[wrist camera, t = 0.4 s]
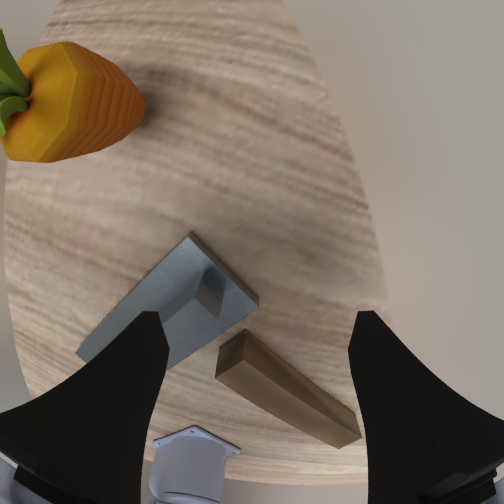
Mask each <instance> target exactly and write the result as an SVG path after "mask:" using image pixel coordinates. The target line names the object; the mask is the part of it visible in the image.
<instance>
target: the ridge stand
mask: <svg viewBox="0 0 504 504" xmlns="http://www.w3.org/2000/svg"><path fill="white" fill-rule="evenodd" d="M258 307H259V298H258V297H257V296H256V295H255V294H254V293H253V292H252V291H251V290H250V289H249V288H248V287H247V286H246V285H245V284H244V283H243V282H242V281H241V280H240V279H239V278H238V277H237V276H236V275H235V274H234V273H233V272H232V271H231V270H230V269H229V268H228V267H227V266H226V265H225V264H224V263H223V262H222V261H221V260H220V259H219V258H218V257H217V256H216V255H215V254H214V253H213V252H212V251H211V250H210V249H209V248H208V247H207V246H206V245H205V244H204V243H203V242H202V241H201V240H200V239H199V238H198V237H197V236H196V235H195V234H194V233H193V232H192V231H191V232H190V233H189V234H188V235H187V236H186V237H185V238H184V239H183V240H182V241H181V242H180V243H179V244H178V245H176V246H175V247H174V248H173V249H172V250H171V251H170V252H169V253H168V254H167V255H166V256H165V257H164V258H163V259H162V260H161V261H160V262H159V263H158V264H157V265H156V266H155V267H154V268H153V269H152V270H151V271H150V272H149V273H148V274H147V275H146V276H145V277H144V278H143V279H142V280H141V281H140V282H139V283H138V284H137V285H136V286H135V287H134V288H133V289H132V290H131V291H130V292H129V293H128V295H127V296H126V297H125V298H124V299H123V300H122V301H121V302H120V303H119V304H118V305H117V306H116V307H115V308H114V309H113V310H112V311H111V312H110V314H109V315H108V316H107V317H106V318H105V319H104V320H103V321H102V322H101V323H100V324H99V325H98V327H97V328H96V329H95V330H94V331H93V332H92V333H91V334H90V335H89V336H88V338H87V339H86V340H85V341H84V342H83V343H82V344H81V345H80V347H79V348H78V350H77V351H76V352H75V354H77V355H78V356H79V357H80V358H81V359H82V360H83V361H85V362H86V363H88V362H89V361H90V360H92V359H93V358H94V357H95V356H96V355H97V354H98V353H99V352H101V351H102V350H103V349H104V348H105V347H106V346H107V345H108V344H109V343H110V342H111V341H112V340H113V339H114V338H115V337H117V336H118V335H119V334H120V333H121V332H122V331H123V330H124V329H125V328H126V327H127V326H128V325H129V324H130V323H131V322H132V321H133V320H134V319H135V318H136V317H137V316H138V315H139V314H140V313H141V312H143V311H155V312H158V314H159V317H160V320H161V323H162V326H163V329H164V332H165V336H166V339H167V341H168V344H169V347H170V352H169V357H168V363H167V368H166V371H167V370H168V369H170V368H171V367H173V366H175V365H176V364H178V363H179V362H181V361H182V360H184V359H185V358H187V357H188V356H190V355H191V354H193V353H194V352H195V351H197V350H198V349H200V348H201V347H203V346H204V345H206V344H207V343H209V342H210V341H212V340H213V339H214V338H216V337H217V336H219V335H220V334H222V333H223V332H225V331H226V330H227V329H229V328H230V327H232V326H233V325H234V324H236V323H237V322H239V321H240V320H241V319H243V318H244V317H246V316H247V315H248V314H250V313H251V312H253V311H254V310H255V309H257V308H258Z"/></svg>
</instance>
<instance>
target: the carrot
mask: <svg viewBox="0 0 504 504" xmlns="http://www.w3.org/2000/svg"><path fill="white" fill-rule="evenodd" d="M145 108H146V103H145V100H144V98H143V97H142V95H141V94H140V92H139V91H138V90H137V88H136V87H135V85H134V84H133V83H132V82H131V80H130V79H129V78H128V77H127V76H126V75H125V74H124V73H123V72H122V71H121V70H120V69H119V68H118V67H117V66H116V65H115V64H113V63H112V62H110V61H108V60H107V59H105V58H103V57H102V56H100V55H98V54H96V53H94V52H92V51H90V50H88V49H86V48H84V47H82V46H80V45H78V44H76V43H72V42H58V43H54V44H49V45H45V46H41V47H37V48H33V49H29V50H28V51H27V52H25V53H24V54H23V56H22V57H21V58H20V59H19V60H18V62H17V63H16V61H15V60H14V58H13V56H12V55H11V53H10V51H9V50H8V48H7V45H6V42H5V38H4V35H3V32H2V29H0V141H1V144H2V146H3V148H4V150H5V152H6V154H7V156H8V158H9V160H14V161H27V162H40V163H52V162H56V161H60V160H64V159H69V158H73V157H77V156H81V155H85V154H89V153H93V152H97V151H100V150H102V149H104V148H106V147H108V146H111V145H113V144H115V143H116V142H118V141H120V140H122V139H123V138H125V137H126V136H127V135H128V134H129V133H130V132H131V131H133V130H134V129H135V128H136V127H137V126H138V125H140V124H141V123H142V122H143V118H144V113H145Z"/></svg>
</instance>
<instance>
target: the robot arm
mask: <svg viewBox="0 0 504 504" xmlns="http://www.w3.org/2000/svg"><path fill="white" fill-rule="evenodd" d="M169 352H170V347H169V344H168V341H167V339H166V336H165V332H164V329H163V326H162V323H161V320H160V317H159V314H158V312H155V311H143V312H141V313H140V314H139V315H138V316H137V317H136V318H135V319H134V320H133V321H132V322H131V323H130V324H129V325H128V326H127V327H126V328H125V329H124V330H123V331H122V332H121V333H120V334H119V335H118V336H117V337H115V338H114V339H113V340H112V341H111V342H110V343H109V344H108V345H107V346H106V347H105V348H104V349H103V350H102V351H101V352H99V353H98V354H97V355H96V356H95V357H94V358H93V359H92V360H90V361H89V362H88V363H87V364H86V365H85V366H83V367H82V368H81V369H80V370H78V371H77V372H76V373H74V374H73V375H72V376H70V377H69V378H68V379H66V380H65V381H63V382H62V383H60V384H59V385H57V386H56V387H54V388H52V389H51V390H49V391H48V392H46V393H44V394H43V395H41V396H39V397H37V398H35V399H33V400H31V401H29V402H27V403H25V404H23V405H21V406H18V407H16V408H13V409H11V410H8V411H5V412H3V413H0V452H2V453H3V454H4V455H6V456H7V457H9V458H10V459H11V460H12V461H14V462H15V463H17V464H18V467H17V469H16V468H14V467H13V466H11V465H10V464H8V463H7V462H6V461H4V460H3V459H2V458H0V504H141V502H140V501H141V499H140V498H141V497H140V496H141V475H142V464H143V456H144V448H145V442H146V437H147V431H148V426H149V422H150V419H151V415H152V412H153V409H154V406H155V403H156V400H157V397H158V394H159V391H160V388H161V385H162V382H163V379H164V376H165V372H166V368H167V363H168V357H169ZM348 355H349V362H350V369H351V375H352V379H353V383H354V387H355V391H356V394H357V398H358V402H359V406H360V410H361V414H362V418H363V423H364V428H365V434H366V444H367V456H368V504H504V478H502V479H500V480H499V481H498V482H495V483H494V481H493V478H494V477H496V476H497V472H496V467H498V466H499V465H501V464H502V463H504V420H501V419H499V418H497V417H495V416H493V415H491V414H489V413H488V412H486V411H484V410H482V409H481V408H479V407H477V406H476V405H474V404H472V403H471V402H469V401H468V400H466V399H465V398H464V397H462V396H461V395H459V394H458V393H457V392H455V391H454V390H452V389H451V388H450V387H449V386H447V385H446V384H445V383H444V382H443V381H441V380H440V379H439V378H438V377H437V376H436V375H434V374H433V373H432V372H431V371H430V370H429V369H428V368H427V367H426V366H425V365H424V364H423V363H422V362H421V361H420V360H419V359H417V357H416V356H415V355H414V354H413V353H412V352H411V351H410V350H409V349H408V348H407V347H406V346H405V345H404V344H403V343H402V342H401V341H400V339H398V337H397V336H396V335H395V334H394V333H393V332H392V330H391V329H390V328H389V327H388V326H387V325H386V324H385V323H384V321H383V320H382V319H381V318H380V317H379V316H378V315H377V314H376V313H375V312H374V310H372V311H358V313H357V317H356V321H355V325H354V329H353V333H352V336H351V340H350V344H349V347H348ZM152 444H153V445H154V446H155V447H157V450H156V454H155V458H154V462H153V466H152V470H151V474H150V478H149V486H150V489H151V491H152V493H153V495H154V496H151V497H149V498H147V499H146V501H145V503H144V504H222V498H223V486H224V474H225V462H226V458H227V457H230V456H233V455H236V454H239V453H241V450H240V449H238V448H236V447H234V446H232V445H230V444H228V443H226V442H224V441H222V440H220V439H219V438H217V437H215V436H213V435H211V434H209V433H207V432H206V431H204V430H202V429H200V428H198V427H196V426H193V427H190V428H188V429H185V430H183V431H180V432H178V433H175V434H172V435H170V436H167V437H164V438H162V439H159V440H156V441H153V442H152Z"/></svg>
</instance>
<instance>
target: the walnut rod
mask: <svg viewBox="0 0 504 504" xmlns="http://www.w3.org/2000/svg"><path fill="white" fill-rule="evenodd" d="M215 379H217V380H218V381H220V382H221V383H223V384H224V385H226V386H227V387H229V388H230V389H232V390H233V391H235V392H236V393H238V394H239V395H241V396H243V397H244V398H246V399H247V400H249V401H250V402H252V403H254V404H255V405H257V406H259V407H260V408H262V409H264V410H265V411H267V412H269V413H270V414H272V415H274V416H276V417H277V418H279V419H281V420H283V421H284V422H286V423H288V424H290V425H292V426H294V427H295V428H297V429H299V430H301V431H303V432H305V433H307V434H309V435H311V436H313V437H315V438H317V439H319V440H321V441H323V442H325V443H327V444H329V445H331V446H333V447H335V448H337V449H340V448H342V447H344V446H346V445H348V444H350V443H352V442H354V441H356V440H358V439H360V438H362V436H361V432H360V429H359V425H358V422H357V418H356V415H355V413H354V412H353V411H352V410H350V409H349V408H347V407H346V406H345V405H343V404H342V403H340V402H339V401H338V400H336V399H335V398H333V397H332V396H331V395H329V394H328V393H327V392H325V391H324V390H323V389H321V388H320V387H319V386H317V385H316V384H315V383H313V382H312V381H311V380H309V379H308V378H307V377H305V376H304V375H303V374H301V373H300V372H299V371H297V370H296V369H295V368H294V367H292V366H291V365H290V364H288V363H287V362H286V361H285V360H283V359H282V358H281V357H280V356H278V355H277V354H276V353H275V352H273V351H272V350H271V349H270V348H268V347H267V346H266V345H265V344H263V343H262V342H261V341H260V340H259V339H257V338H256V337H255V336H254V335H252V334H251V333H250V332H249V331H248V330H246V329H244V330H242V331H241V332H240V333H238V334H237V335H235V336H234V337H233V338H231V339H230V340H228V341H227V342H226V343H224V344H223V345H221V346H220V348H219V354H218V360H217V367H216V373H215Z"/></svg>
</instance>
